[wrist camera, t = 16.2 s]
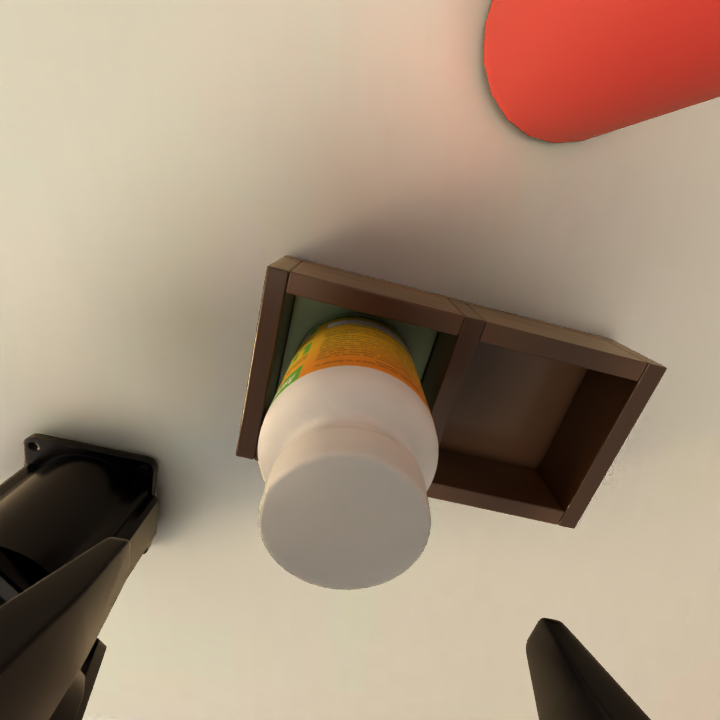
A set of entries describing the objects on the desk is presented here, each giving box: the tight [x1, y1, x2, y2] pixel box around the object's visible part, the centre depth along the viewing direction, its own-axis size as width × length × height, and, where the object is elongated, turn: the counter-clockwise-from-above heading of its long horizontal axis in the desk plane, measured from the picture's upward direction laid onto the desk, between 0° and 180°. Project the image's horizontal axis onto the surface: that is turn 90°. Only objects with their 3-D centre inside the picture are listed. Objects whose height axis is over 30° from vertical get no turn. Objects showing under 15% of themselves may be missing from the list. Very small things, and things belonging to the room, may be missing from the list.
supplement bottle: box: [258, 313, 438, 590], centre depth 13 cm, size 5×5×10 cm
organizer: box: [236, 256, 667, 528], centre depth 17 cm, size 15×8×4 cm, turn 76°
